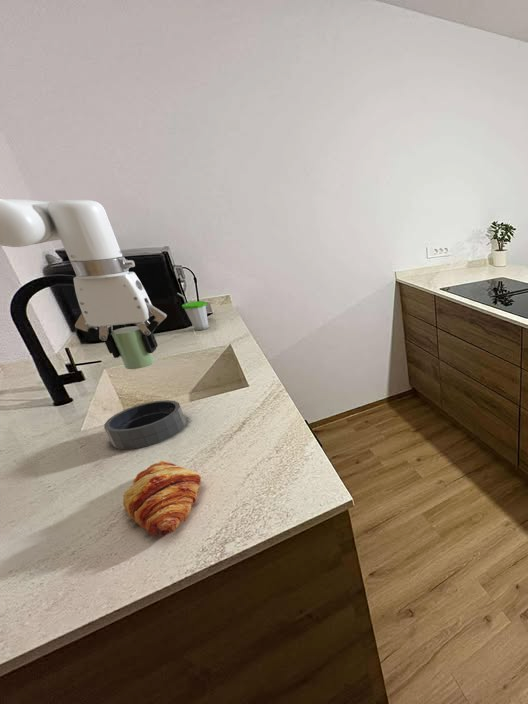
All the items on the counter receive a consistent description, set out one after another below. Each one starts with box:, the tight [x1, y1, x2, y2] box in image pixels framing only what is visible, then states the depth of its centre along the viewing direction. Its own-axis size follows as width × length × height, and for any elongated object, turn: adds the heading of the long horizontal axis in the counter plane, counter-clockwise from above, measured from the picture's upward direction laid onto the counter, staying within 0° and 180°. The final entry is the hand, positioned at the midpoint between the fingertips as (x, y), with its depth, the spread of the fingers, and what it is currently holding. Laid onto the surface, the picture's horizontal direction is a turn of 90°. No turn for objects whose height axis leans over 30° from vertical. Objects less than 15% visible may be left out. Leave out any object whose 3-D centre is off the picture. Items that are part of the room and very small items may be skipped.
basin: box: [103, 399, 187, 450], centre depth 82 cm, size 13×13×5 cm
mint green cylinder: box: [111, 325, 156, 370], centre depth 80 cm, size 5×5×8 cm
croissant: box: [122, 460, 202, 536], centre depth 63 cm, size 21×10×8 cm, turn 42°
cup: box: [176, 292, 210, 331], centre depth 147 cm, size 8×8×15 cm
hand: (135, 352), depth 81 cm, fingers closed on mint green cylinder, 5 cm apart
